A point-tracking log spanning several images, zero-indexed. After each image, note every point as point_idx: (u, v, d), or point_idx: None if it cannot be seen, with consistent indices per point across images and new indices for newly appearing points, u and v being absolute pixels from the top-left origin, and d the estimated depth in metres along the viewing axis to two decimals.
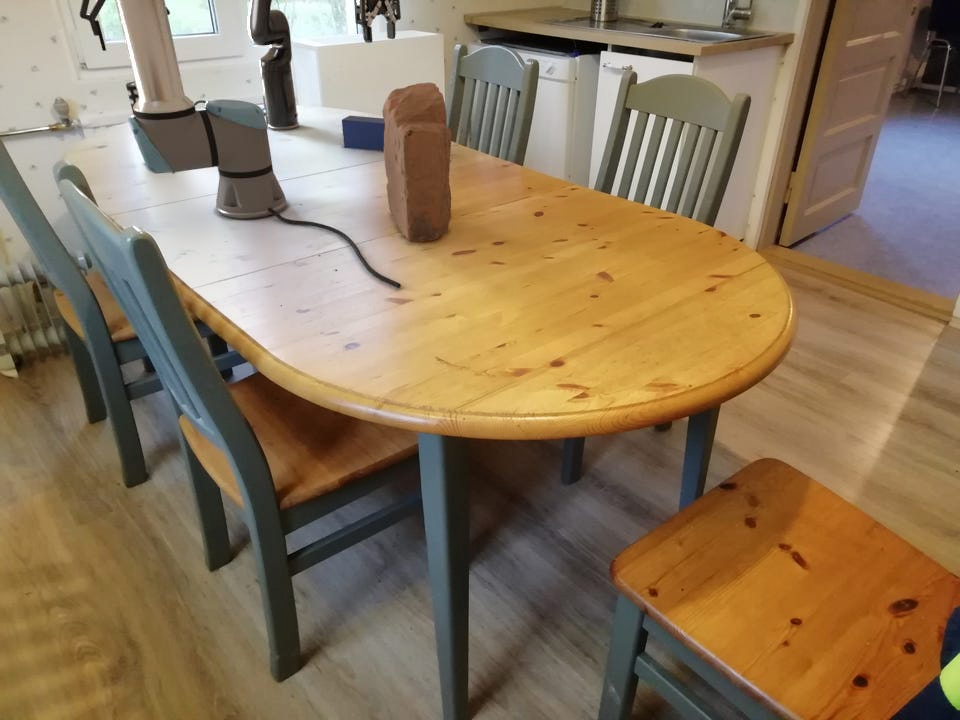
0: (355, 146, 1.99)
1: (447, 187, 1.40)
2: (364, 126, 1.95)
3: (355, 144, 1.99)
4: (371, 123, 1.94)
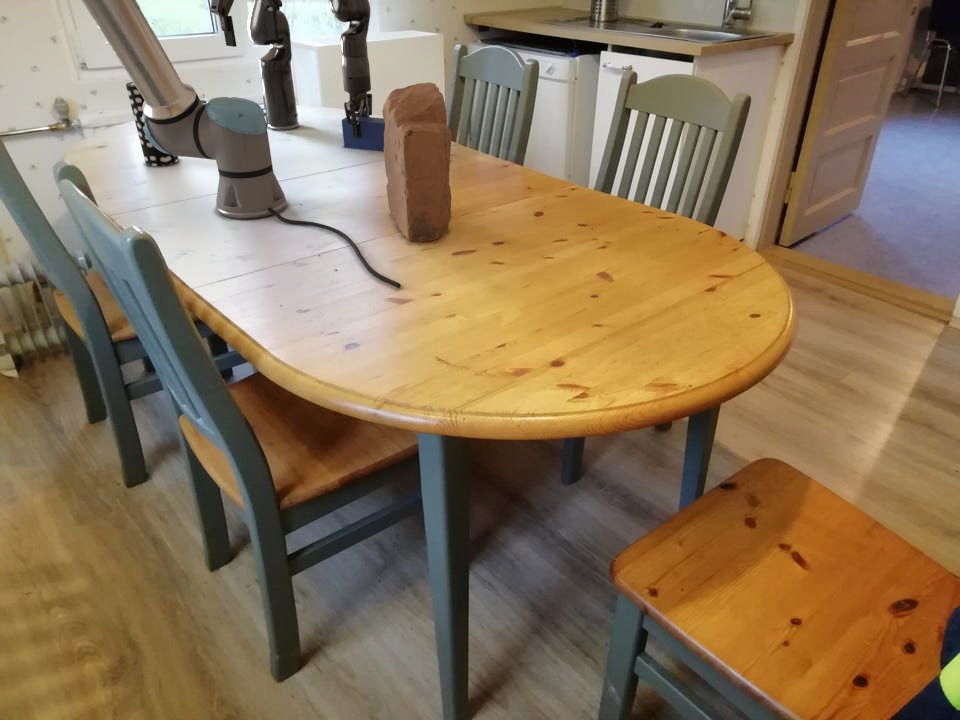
0: (355, 146, 1.99)
1: (447, 187, 1.40)
2: (364, 126, 1.95)
3: (355, 144, 1.99)
4: (371, 123, 1.94)
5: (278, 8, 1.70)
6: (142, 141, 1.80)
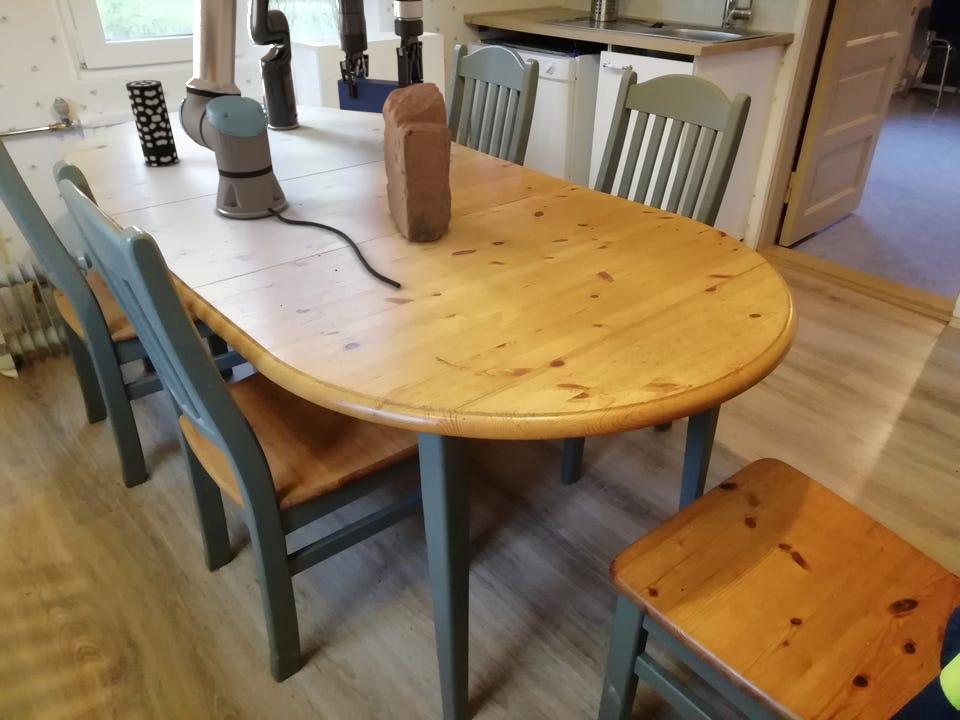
0: (351, 108, 1.94)
1: (447, 187, 1.40)
2: (360, 87, 1.90)
3: (351, 107, 1.93)
4: (368, 84, 1.89)
5: (423, 81, 1.91)
6: (142, 141, 1.80)
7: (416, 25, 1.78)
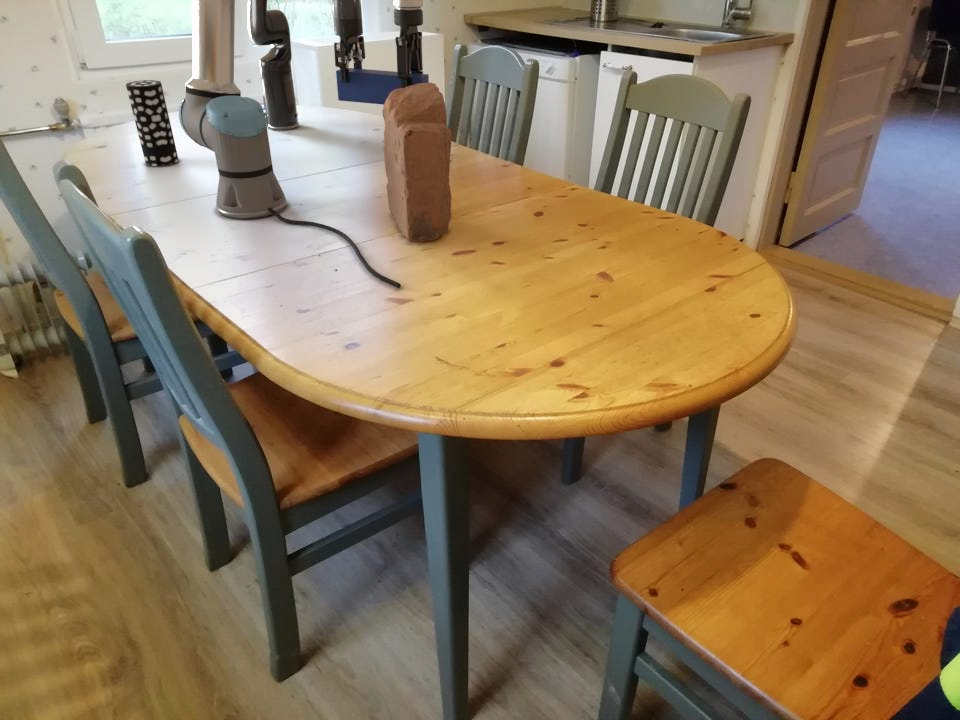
0: (350, 99, 1.92)
1: (447, 187, 1.40)
2: (359, 77, 1.88)
3: (349, 97, 1.92)
4: (366, 74, 1.87)
5: (422, 72, 1.90)
6: (142, 141, 1.80)
7: (416, 15, 1.76)
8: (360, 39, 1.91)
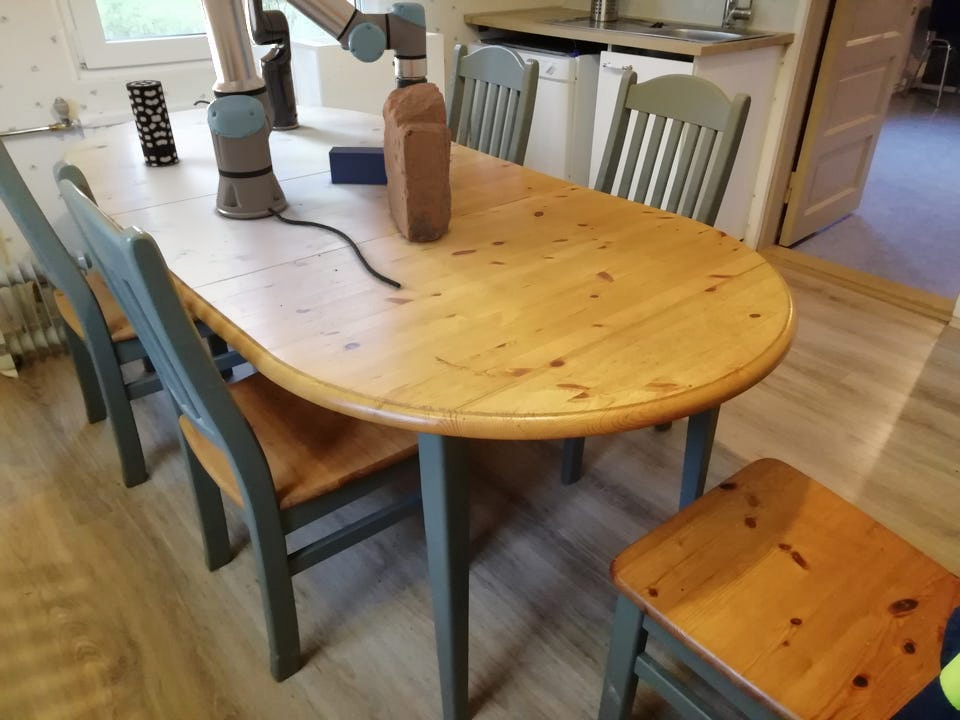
0: (346, 181, 1.73)
1: (447, 187, 1.40)
2: (357, 158, 1.69)
3: (345, 180, 1.72)
4: (366, 154, 1.69)
5: None
6: (142, 141, 1.80)
7: None
8: None
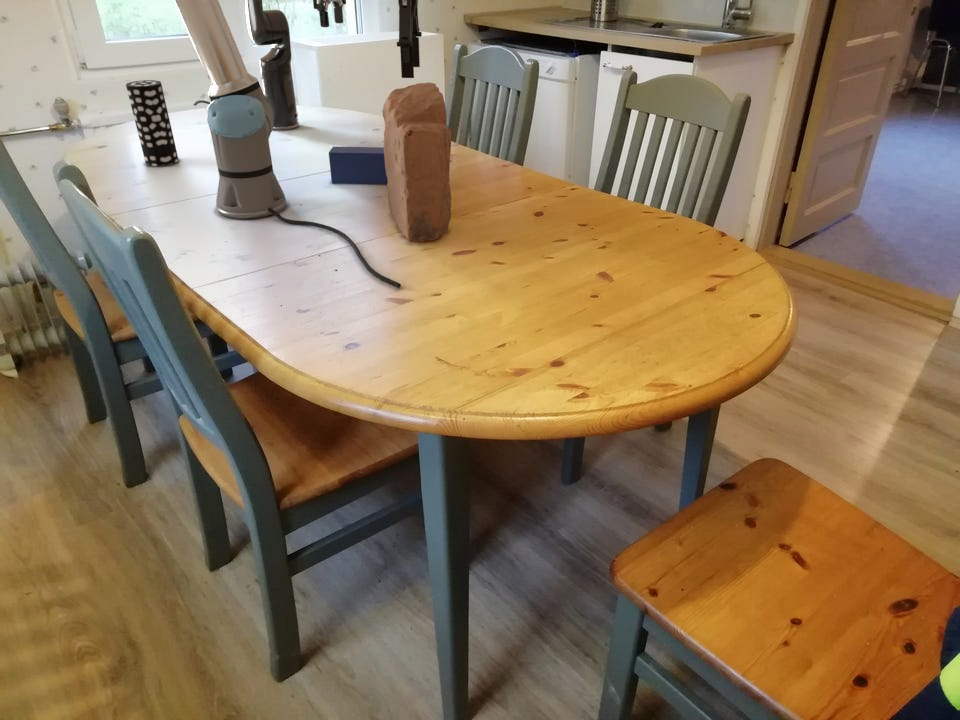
0: (346, 181, 1.73)
1: (447, 187, 1.40)
2: (357, 158, 1.69)
3: (345, 180, 1.72)
4: (366, 154, 1.69)
5: (421, 34, 1.64)
6: (142, 141, 1.80)
7: None
8: None
